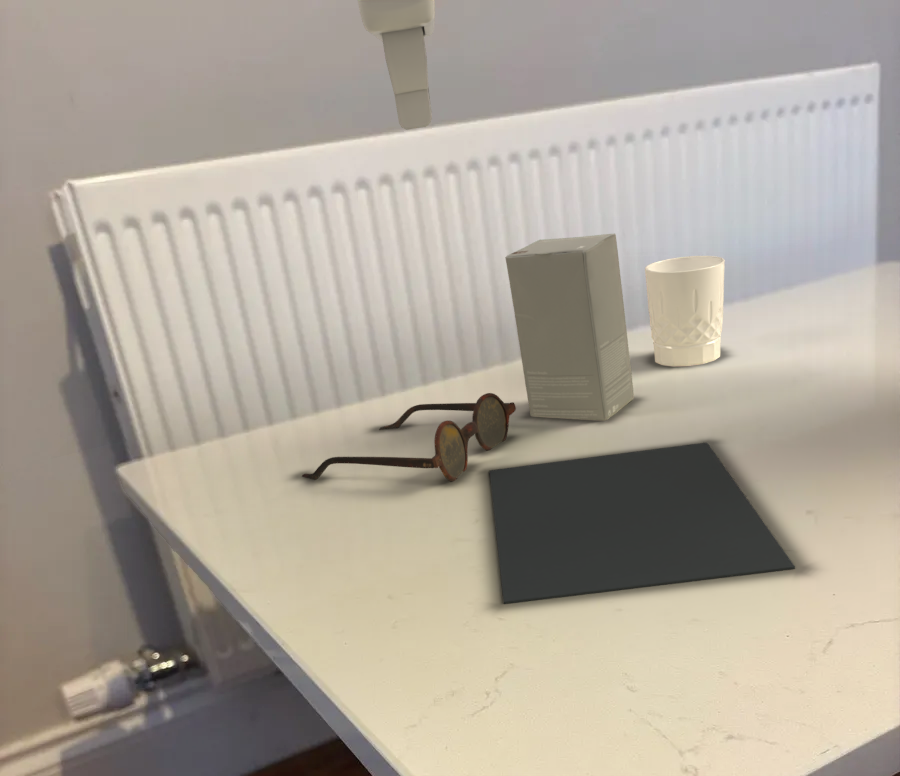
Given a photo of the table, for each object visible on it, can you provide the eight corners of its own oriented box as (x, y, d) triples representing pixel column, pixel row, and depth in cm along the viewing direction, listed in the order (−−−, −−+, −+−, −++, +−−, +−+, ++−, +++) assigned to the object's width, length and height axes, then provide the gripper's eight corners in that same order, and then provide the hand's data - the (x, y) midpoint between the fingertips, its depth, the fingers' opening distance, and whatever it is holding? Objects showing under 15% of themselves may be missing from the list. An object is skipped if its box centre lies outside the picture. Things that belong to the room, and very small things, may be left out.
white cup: (634, 367, 109) (628, 270, 104) (680, 348, 113) (676, 254, 109) (695, 375, 103) (692, 273, 99) (741, 355, 108) (740, 256, 103)
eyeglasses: (441, 496, 83) (432, 437, 81) (296, 484, 90) (284, 430, 88) (519, 435, 94) (513, 382, 92) (384, 429, 101) (375, 379, 99)
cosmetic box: (635, 404, 98) (626, 230, 91) (601, 428, 93) (588, 246, 86) (557, 399, 102) (542, 234, 95) (521, 422, 97) (502, 250, 90)
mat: (707, 448, 85) (706, 442, 84) (795, 575, 63) (795, 566, 63) (490, 476, 86) (489, 470, 85) (504, 610, 64) (503, 601, 64)
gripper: (435, -226, 44) (478, 122, 51) (434, -138, 63) (465, 110, 69) (293, -200, 45) (352, 142, 51) (333, -120, 63) (373, 125, 69)
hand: (417, 124), depth 60 cm, fingers open, 8 cm apart
